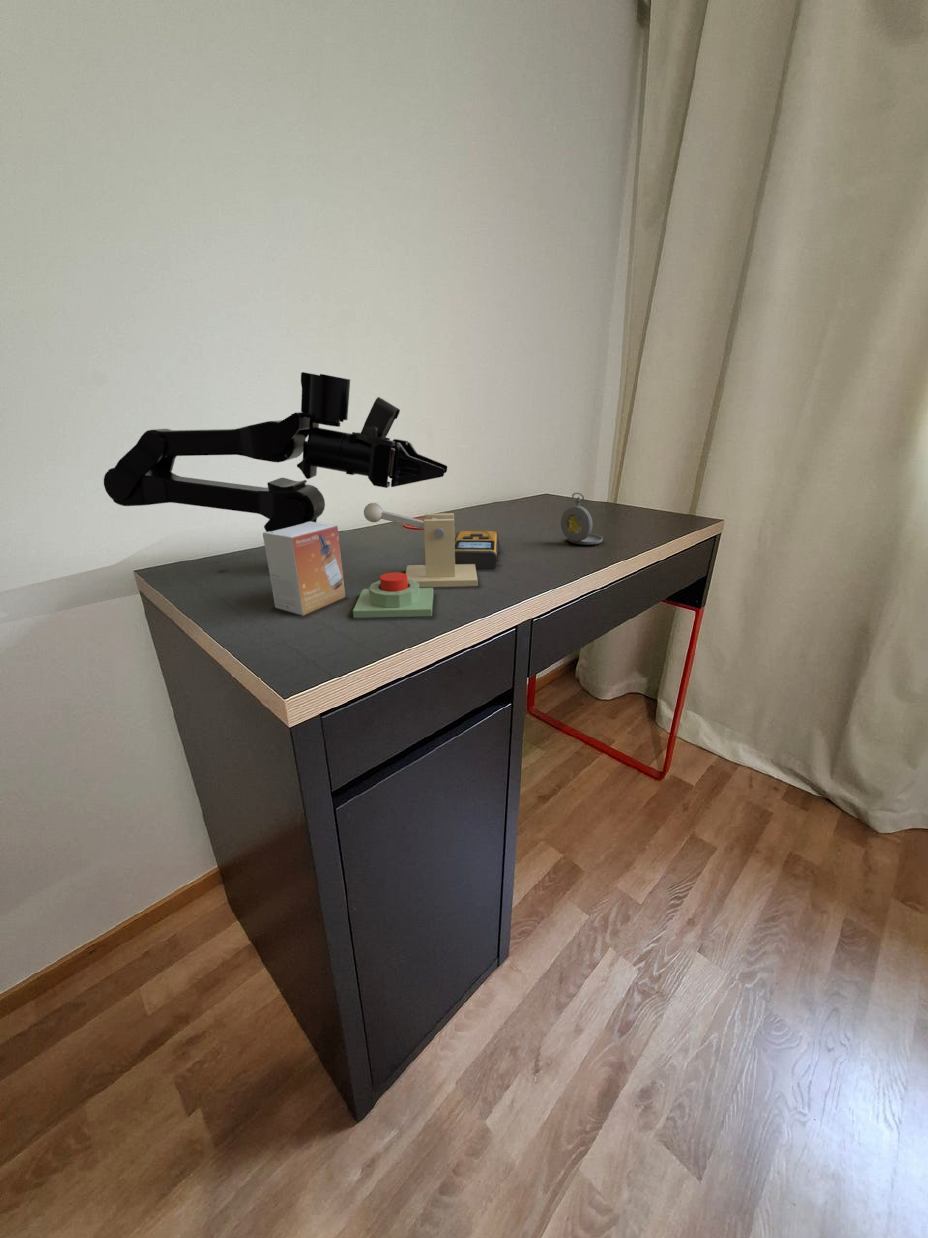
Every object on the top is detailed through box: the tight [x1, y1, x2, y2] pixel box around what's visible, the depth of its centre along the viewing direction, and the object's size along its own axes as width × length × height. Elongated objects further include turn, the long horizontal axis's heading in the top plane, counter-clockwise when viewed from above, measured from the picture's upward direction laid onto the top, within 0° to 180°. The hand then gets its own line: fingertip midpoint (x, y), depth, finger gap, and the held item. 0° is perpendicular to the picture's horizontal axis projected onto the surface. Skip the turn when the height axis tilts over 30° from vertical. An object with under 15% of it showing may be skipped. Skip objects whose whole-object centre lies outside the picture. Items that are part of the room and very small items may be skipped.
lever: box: [363, 502, 437, 530], centre depth 72 cm, size 13×3×3 cm, turn 91°
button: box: [379, 571, 408, 592], centre depth 65 cm, size 4×4×2 cm
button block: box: [352, 579, 434, 619], centre depth 65 cm, size 10×8×3 cm
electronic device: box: [454, 530, 500, 570], centre depth 87 cm, size 8×16×3 cm, turn 176°
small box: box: [262, 521, 346, 616], centre depth 65 cm, size 8×6×10 cm
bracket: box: [405, 512, 479, 588], centre depth 74 cm, size 11×8×10 cm
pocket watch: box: [560, 492, 604, 546], centre depth 93 cm, size 8×8×10 cm
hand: (445, 470), depth 75 cm, fingers open, 9 cm apart
